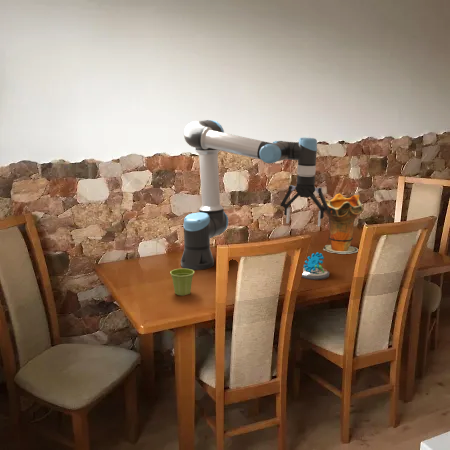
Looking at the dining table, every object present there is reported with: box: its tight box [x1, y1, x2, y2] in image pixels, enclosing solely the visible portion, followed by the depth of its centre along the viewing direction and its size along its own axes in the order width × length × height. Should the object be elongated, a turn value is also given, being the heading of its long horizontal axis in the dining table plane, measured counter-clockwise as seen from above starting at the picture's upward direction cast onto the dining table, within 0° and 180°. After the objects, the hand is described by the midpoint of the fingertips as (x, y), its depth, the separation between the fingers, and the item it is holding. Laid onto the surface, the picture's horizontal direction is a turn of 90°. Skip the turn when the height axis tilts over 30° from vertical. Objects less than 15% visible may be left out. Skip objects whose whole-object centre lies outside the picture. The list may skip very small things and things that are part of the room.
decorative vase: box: [321, 193, 365, 255], centre depth 258 cm, size 21×23×28 cm
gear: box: [303, 251, 325, 273], centre depth 223 cm, size 11×6×10 cm
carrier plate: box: [301, 267, 330, 281], centre depth 223 cm, size 13×13×2 cm
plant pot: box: [169, 267, 195, 296], centre depth 202 cm, size 9×9×9 cm
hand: (303, 224), depth 222 cm, fingers open, 13 cm apart
